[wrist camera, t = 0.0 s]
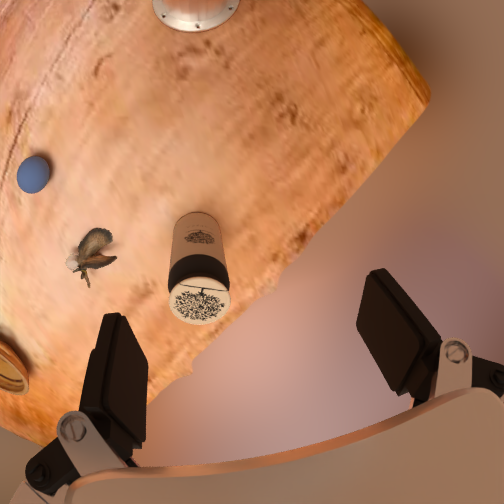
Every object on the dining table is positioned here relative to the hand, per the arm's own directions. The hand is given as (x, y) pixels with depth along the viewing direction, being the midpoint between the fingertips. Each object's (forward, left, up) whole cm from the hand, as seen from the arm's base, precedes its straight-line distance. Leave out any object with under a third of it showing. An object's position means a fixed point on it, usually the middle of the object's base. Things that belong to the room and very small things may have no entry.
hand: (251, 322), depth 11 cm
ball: (-2, -29, -34) cm, 45 cm away
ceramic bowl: (+41, -70, -37) cm, 89 cm away
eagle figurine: (+15, -23, -37) cm, 46 cm away
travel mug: (+15, -4, -37) cm, 40 cm away
